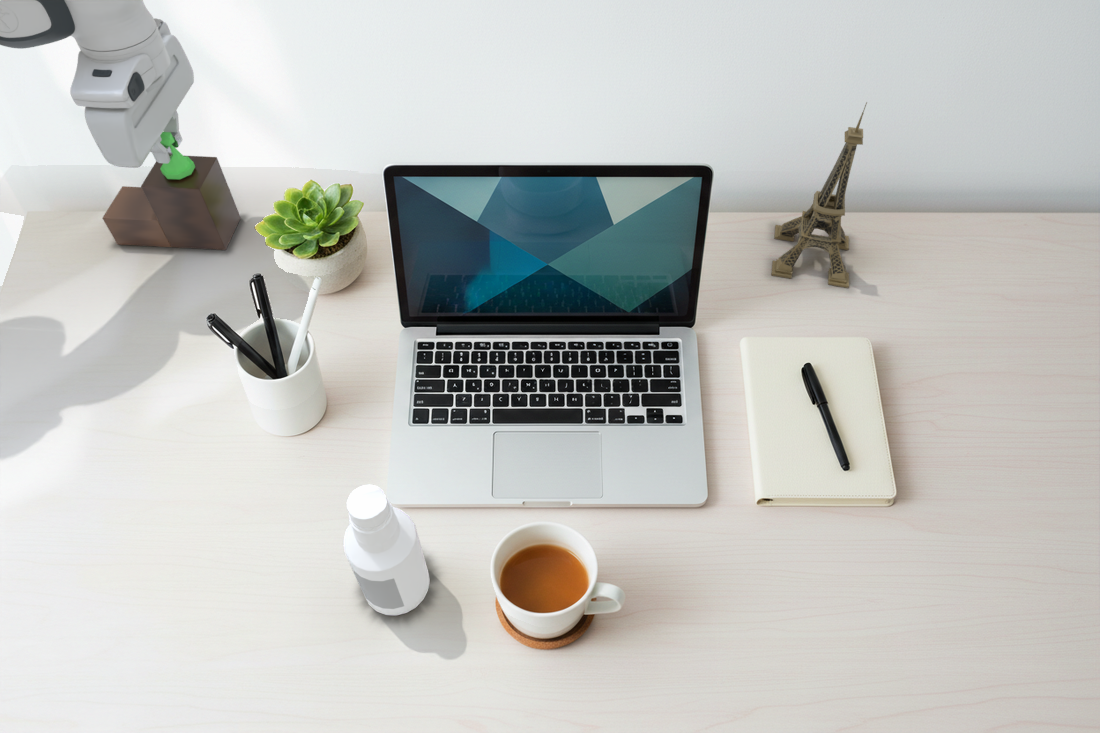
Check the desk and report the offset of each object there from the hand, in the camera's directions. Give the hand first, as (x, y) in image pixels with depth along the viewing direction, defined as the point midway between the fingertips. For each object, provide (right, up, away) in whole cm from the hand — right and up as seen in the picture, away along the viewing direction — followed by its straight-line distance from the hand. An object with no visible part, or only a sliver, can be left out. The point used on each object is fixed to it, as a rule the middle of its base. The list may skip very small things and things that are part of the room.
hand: (170, 152), depth 103 cm
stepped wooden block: (-4, -9, +11) cm, 15 cm away
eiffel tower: (+88, -13, +9) cm, 89 cm away
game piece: (0, -2, +2) cm, 3 cm away
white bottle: (+35, -51, -22) cm, 66 cm away
